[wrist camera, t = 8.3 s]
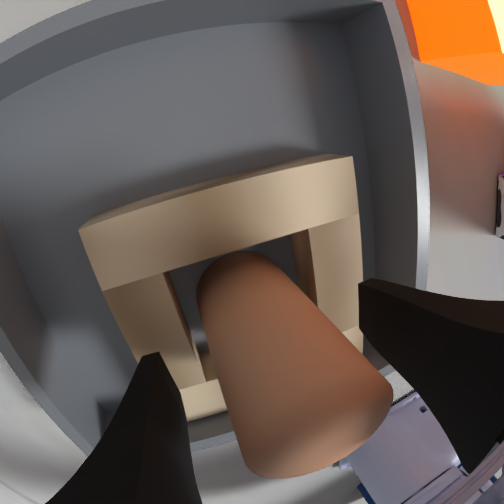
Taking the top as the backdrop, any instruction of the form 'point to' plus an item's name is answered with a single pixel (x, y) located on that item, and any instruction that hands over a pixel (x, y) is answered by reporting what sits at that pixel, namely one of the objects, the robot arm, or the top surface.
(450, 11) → the orange juice
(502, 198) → the candy box
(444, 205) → the top surface
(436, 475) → the robot arm
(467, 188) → the top surface
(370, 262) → the tray
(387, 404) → the peg
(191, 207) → the plate
